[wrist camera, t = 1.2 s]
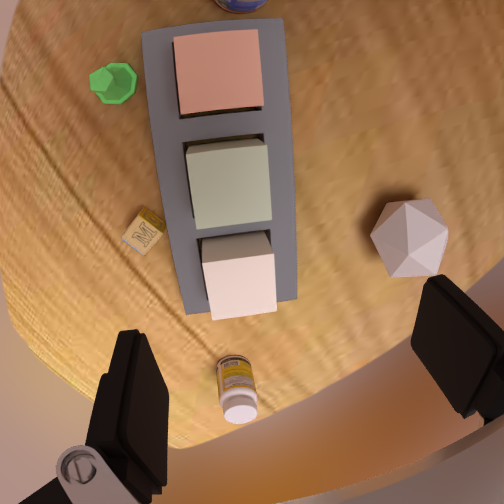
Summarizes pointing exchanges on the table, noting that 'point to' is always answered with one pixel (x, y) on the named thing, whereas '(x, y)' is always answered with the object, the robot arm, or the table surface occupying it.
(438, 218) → the die
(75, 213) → the table surface
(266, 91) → the board
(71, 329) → the table surface
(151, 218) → the alphabet block
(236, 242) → the cream block
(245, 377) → the supplement bottle
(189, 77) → the terracotta block
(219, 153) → the green block
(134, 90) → the game piece
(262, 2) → the pill bottle
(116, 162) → the table surface
